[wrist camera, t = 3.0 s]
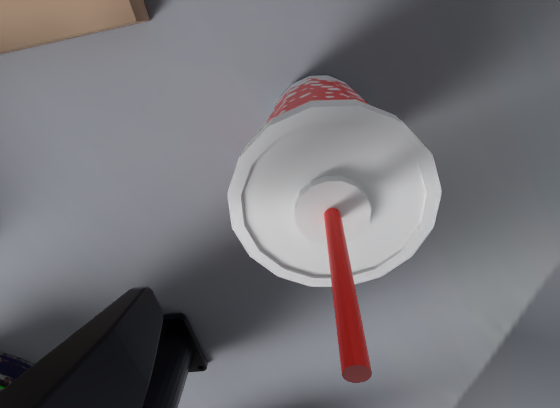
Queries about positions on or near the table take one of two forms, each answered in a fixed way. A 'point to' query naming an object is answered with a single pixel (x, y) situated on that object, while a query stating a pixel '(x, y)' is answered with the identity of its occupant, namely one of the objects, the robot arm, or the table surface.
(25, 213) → the table surface
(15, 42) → the socket board
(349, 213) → the beverage cup
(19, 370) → the storage jar
